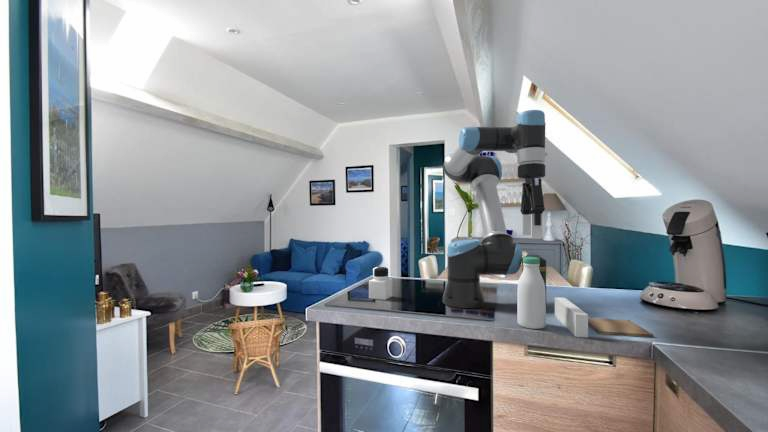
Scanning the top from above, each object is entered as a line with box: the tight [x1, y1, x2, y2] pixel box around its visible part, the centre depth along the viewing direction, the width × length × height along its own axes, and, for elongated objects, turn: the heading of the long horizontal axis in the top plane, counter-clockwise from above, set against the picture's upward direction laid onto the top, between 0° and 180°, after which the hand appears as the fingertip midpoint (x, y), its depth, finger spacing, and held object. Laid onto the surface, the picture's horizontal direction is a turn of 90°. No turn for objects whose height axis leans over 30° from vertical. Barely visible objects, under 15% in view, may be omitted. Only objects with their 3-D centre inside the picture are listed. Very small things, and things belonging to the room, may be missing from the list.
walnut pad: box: [588, 317, 655, 338], centre depth 100 cm, size 13×13×1 cm
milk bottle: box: [516, 256, 547, 330], centre depth 103 cm, size 8×8×20 cm
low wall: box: [554, 296, 589, 338], centre depth 103 cm, size 3×20×6 cm, turn 168°
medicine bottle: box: [368, 266, 393, 301], centre depth 138 cm, size 7×7×12 cm
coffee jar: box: [521, 254, 547, 292], centre depth 122 cm, size 10×8×19 cm
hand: (531, 236), depth 103 cm, fingers open, 13 cm apart
